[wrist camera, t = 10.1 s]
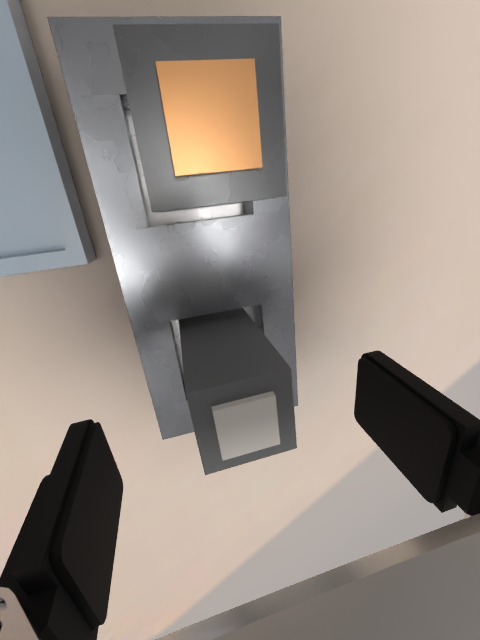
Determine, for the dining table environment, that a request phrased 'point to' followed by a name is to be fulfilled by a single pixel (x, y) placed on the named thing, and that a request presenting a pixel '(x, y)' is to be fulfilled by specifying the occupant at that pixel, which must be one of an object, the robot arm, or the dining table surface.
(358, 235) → the dining table surface
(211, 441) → the plug
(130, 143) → the grey socket
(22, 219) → the tray
